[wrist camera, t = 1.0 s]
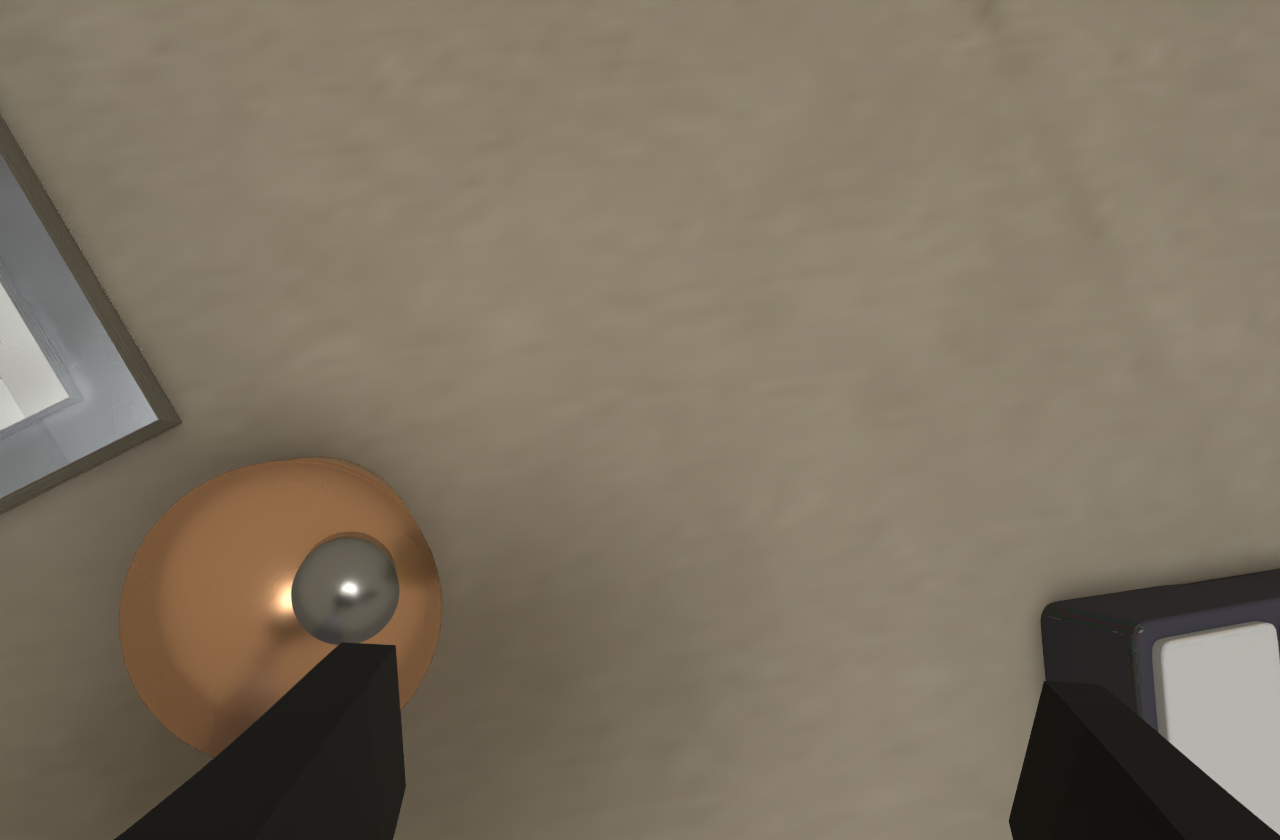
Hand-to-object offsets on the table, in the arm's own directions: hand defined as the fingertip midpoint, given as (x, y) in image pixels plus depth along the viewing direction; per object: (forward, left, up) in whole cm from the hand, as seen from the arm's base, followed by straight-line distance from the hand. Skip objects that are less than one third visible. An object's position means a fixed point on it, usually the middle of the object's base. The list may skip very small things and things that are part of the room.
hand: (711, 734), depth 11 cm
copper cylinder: (-4, +3, -13) cm, 14 cm away
